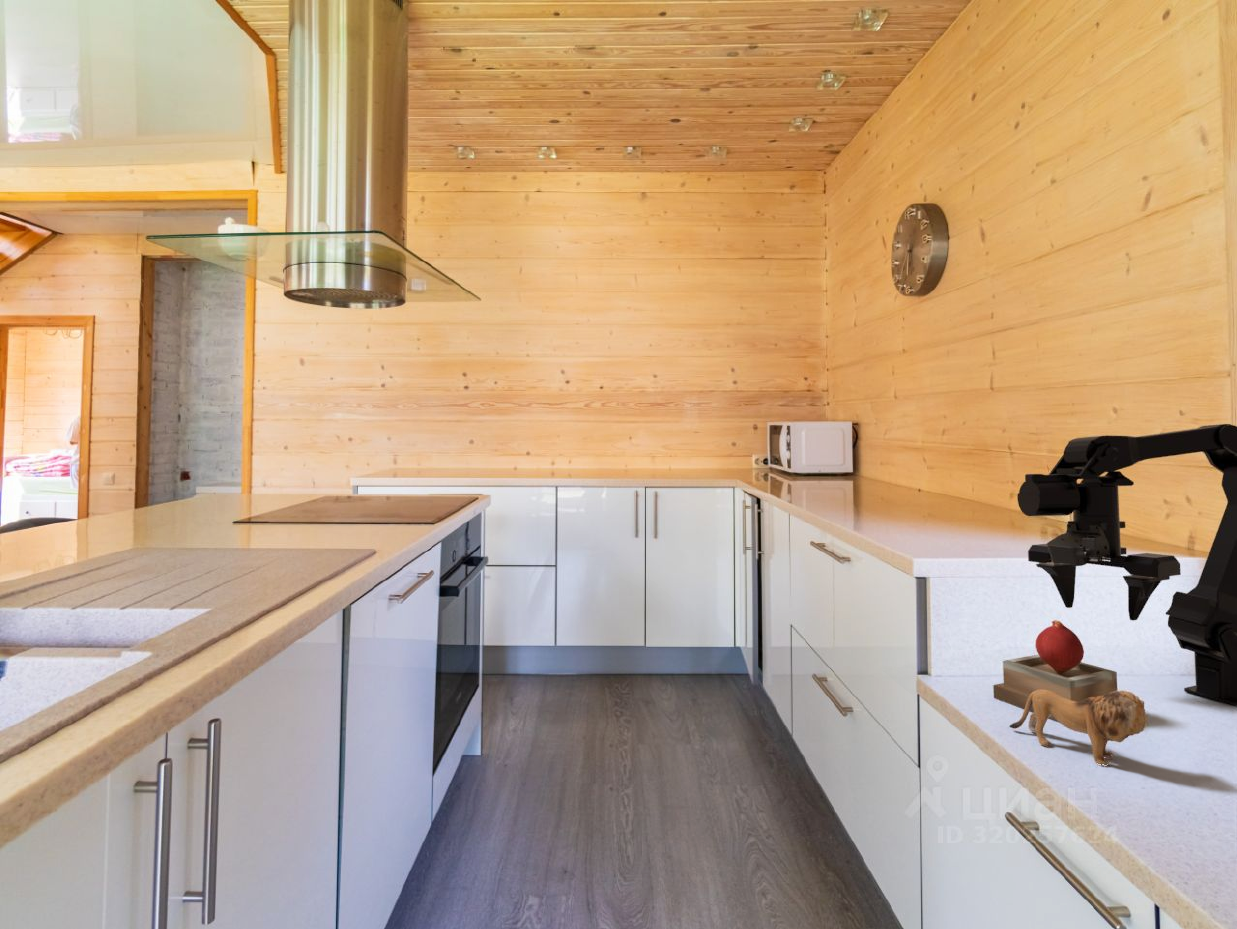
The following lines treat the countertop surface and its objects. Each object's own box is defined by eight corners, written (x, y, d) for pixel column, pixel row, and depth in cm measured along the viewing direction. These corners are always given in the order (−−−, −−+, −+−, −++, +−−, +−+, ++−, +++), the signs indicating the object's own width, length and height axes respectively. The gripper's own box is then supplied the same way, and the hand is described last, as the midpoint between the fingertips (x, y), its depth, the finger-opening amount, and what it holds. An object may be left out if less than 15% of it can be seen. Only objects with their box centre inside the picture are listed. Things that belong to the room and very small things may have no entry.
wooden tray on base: (1046, 686, 97) (1045, 650, 97) (1130, 714, 85) (1128, 673, 85) (993, 697, 93) (992, 659, 93) (1074, 728, 81) (1072, 684, 81)
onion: (1054, 664, 93) (1053, 613, 93) (1094, 676, 87) (1092, 622, 87) (1027, 669, 91) (1026, 617, 91) (1066, 681, 85) (1064, 627, 86)
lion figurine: (1154, 765, 71) (1151, 691, 71) (1143, 780, 68) (1140, 702, 68) (1016, 725, 83) (1014, 661, 83) (1001, 736, 80) (998, 670, 80)
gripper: (1003, 514, 99) (1006, 606, 99) (1130, 521, 81) (1135, 634, 81) (1049, 511, 103) (1052, 600, 102) (1180, 517, 85) (1185, 625, 85)
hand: (1099, 613), depth 93 cm, fingers open, 9 cm apart
